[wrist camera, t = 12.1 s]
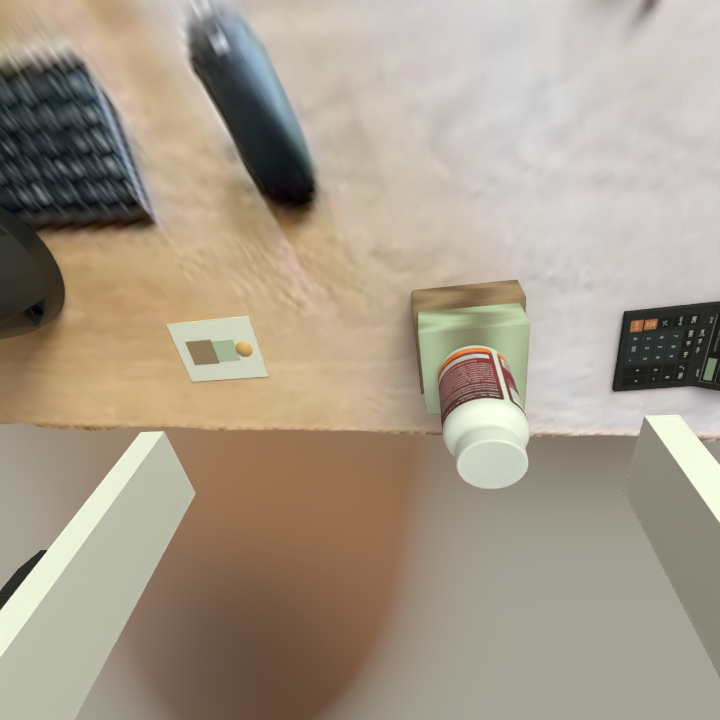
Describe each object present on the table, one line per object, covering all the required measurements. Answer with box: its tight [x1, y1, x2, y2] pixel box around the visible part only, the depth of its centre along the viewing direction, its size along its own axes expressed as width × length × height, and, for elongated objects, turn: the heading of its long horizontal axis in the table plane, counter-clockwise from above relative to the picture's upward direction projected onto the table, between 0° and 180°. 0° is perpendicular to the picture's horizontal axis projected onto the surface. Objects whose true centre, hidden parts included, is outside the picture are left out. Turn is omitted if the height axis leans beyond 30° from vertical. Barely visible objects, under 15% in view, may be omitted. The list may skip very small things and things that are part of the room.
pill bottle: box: [438, 345, 530, 489], centre depth 33 cm, size 6×6×11 cm
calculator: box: [612, 301, 720, 392], centre depth 41 cm, size 9×12×3 cm
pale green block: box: [412, 280, 530, 415], centre depth 41 cm, size 10×10×8 cm
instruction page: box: [166, 316, 269, 382], centre depth 49 cm, size 10×8×1 cm
